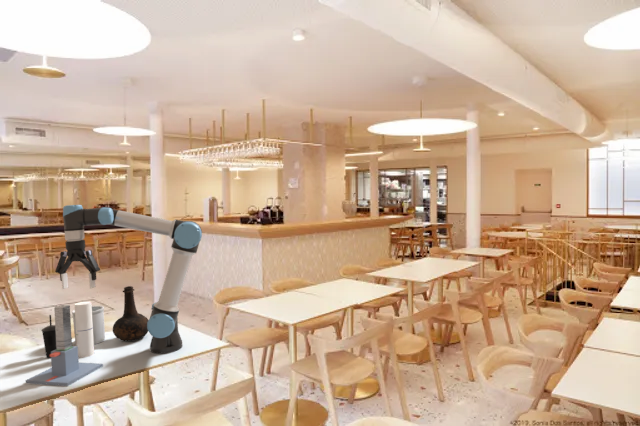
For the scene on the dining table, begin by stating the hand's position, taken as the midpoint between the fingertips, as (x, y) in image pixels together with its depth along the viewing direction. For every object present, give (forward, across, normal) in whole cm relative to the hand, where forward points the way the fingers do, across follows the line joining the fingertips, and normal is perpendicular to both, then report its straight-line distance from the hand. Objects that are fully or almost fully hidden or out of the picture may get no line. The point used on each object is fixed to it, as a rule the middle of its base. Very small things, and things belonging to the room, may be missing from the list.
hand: (79, 288), depth 189 cm
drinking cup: (+35, +26, -11) cm, 45 cm away
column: (+28, +3, +8) cm, 29 cm away
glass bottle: (+36, +2, -38) cm, 52 cm away
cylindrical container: (+36, +11, -14) cm, 40 cm away
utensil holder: (+36, +22, -32) cm, 52 cm away
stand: (+35, +3, +8) cm, 36 cm away
